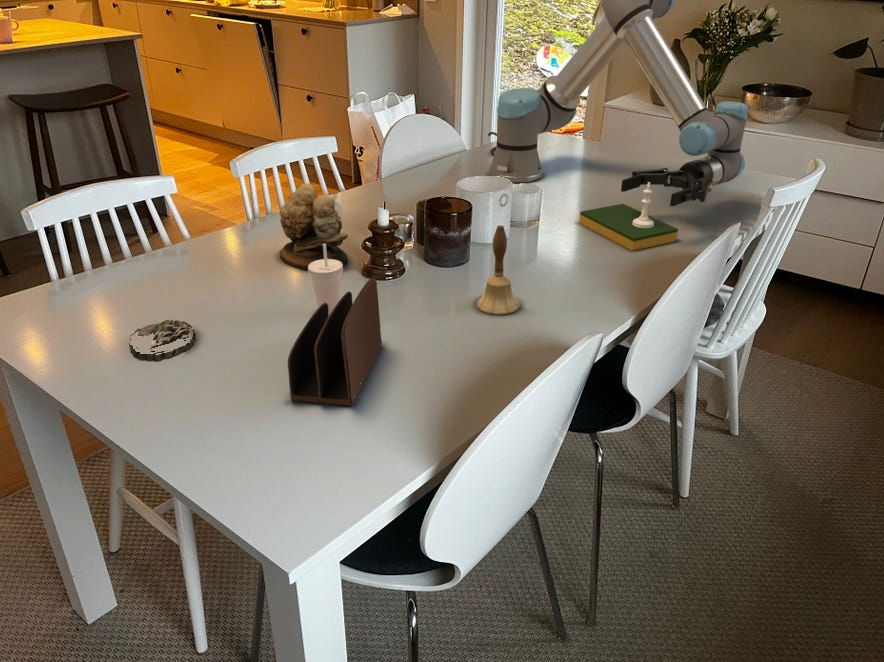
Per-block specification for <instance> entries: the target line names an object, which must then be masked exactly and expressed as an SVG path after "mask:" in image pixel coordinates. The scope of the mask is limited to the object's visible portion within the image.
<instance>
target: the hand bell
mask: <svg viewBox="0 0 884 662" xmlns="http://www.w3.org/2000/svg"><path fill="white" fill-rule="evenodd" d="M507 237H508V236H507V234H506V230H505V226H504V225H501V224H500V225H497V226H496V229H495V232H494V235H493V239H492V251H493V255H494V274H493V275H492V276H489V277H488V278H487V280H486V285H485V290H484V293H483V295H481V297H480V298H478V300H477V302H476V308H478V310H479V311H481V312H483V313H485V314H490V315H497V316H502V315H509V314H512V313H514V312H516V311H518V310H519V309H520V307H521V306H520V305H521V304H520V302H519V300H518V298H516V297H515V296H514V293H513V290H512V285H511V284H512V283H511V279H510V278H509V277H507V276H506V275H504V272H505V271H504V258H505V255H506V252H507V247H508V238H507Z"/></svg>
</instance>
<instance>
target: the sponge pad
mask: <svg viewBox="0 0 884 662" xmlns="http://www.w3.org/2000/svg"><path fill="white" fill-rule="evenodd" d="M641 213H642V211H640V210H638V209H635V208H633V207H631V206H629V205H627V204H625V203H619V204H613V205H608V206H603V207H597V208H593V209H587V210H582V211H580V213H579V224H580V225H582V226H584V227H585V228H588V229H589V230H592V231H593V232H596V233H598V235H601V236H603V237H605V238H607V239H608V240H610V241H613V242H615V243H616V244H618V245H620V246H622V247H624V248H626V249H628V250H630V251H637V250H642V249H646V248H650V247H655V246H660V245H664V244H669V243H673V242H677V238H678V233H679V228H678V227H675V226H673V225H670V224H668V223H666V222H664V221H661V220H659V219H658V218H655V217H654V216H651V215H649V214H648V217H649V219H651V220H652V221H653V222H654V226H653V227H651V228H639V227H636V226H634V225H633V224H632V223H633V220H634V219H636V218H639V217H640V216H641Z"/></svg>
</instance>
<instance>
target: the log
mask: <svg viewBox="0 0 884 662" xmlns="http://www.w3.org/2000/svg"><path fill="white" fill-rule="evenodd" d="M189 327H191V329H190V328H189ZM193 329H194V330H193ZM138 331H139V333H138V336H143V337H144V335H145V336H147V335H148V336H149V334H152V333H153V334H154V335H155V336H154V338H153V340H156V341H155V342H150V350H151V349H152V348H155V347H158V346H161V345H165V344H169V343H172V342H174V341H176V340H177V339H178V338H179V339H186V338H188V337H189V336H190V335H191V334H192V331H193V332H194V333H193V337H192V339H191V340H190V343H187V344H186V345H185V346H182V347H179V348H177V349H174V350H173V351H170V352H167V353H163V352H165V351H161V352H157V353H162V354H159V355H155V354H157V353H154V354H140V352H136V351H135V349H133V346H132V345H130V343H129V345H128V346H129V351H130V354H132V357H133V358H135V359H137V360H139V361H147V362H152V361H153V362H156V363H157V362H161V361H164V360H169V359H172V358H173V357H176V356H179V355H180V354H182V353H185V352H187V351H189V350H190V349H192V347H194V345H195V340H196V336H197V335H196V332H195V327H193V326H192V325H191V324H189V323H188V322H187V321H184V320H182V321H181V320H180V319H179V320H178V319H164V320H162V321H160V322H157V323H152V324H148V325H145V326H143V327H142V328H137V329H136V330H135V331H134V332H135V333H136V332H138ZM155 333H156V334H155ZM132 335H134V333H132V334H131V335H130V336H132ZM184 341H186V340H184ZM136 348H137V347H136ZM138 349H139V348H138ZM166 351H167V350H166ZM151 352H155V351H151Z"/></svg>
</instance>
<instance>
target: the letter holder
mask: <svg viewBox="0 0 884 662" xmlns="http://www.w3.org/2000/svg"><path fill="white" fill-rule="evenodd" d="M328 311H329V309H328V304H327V303H323V304H322V305H321V306H320V307H319V308H318V307H317V309H316V310H315V311H314V312H313V314H312V315H311V316H310V318H309V320H308V321H307V322H306V324H305V325H304V326H303V328H302V330H301V331H300V333H299V334H298V336H297V338H296V340H295V342H294V343H293V345H292V347H291V349H290V351H289V354H288V357H287V372H288V383H289V395H290V401H292V402H303V403H304V402H305V403H315V404H325V405H336V406H349V407H352V406H353V405H354V402H355V401H356V398H357V396H358V394H359V391H360V390H361V388H362V385H363V383H364V381H365V379H366V376H368V373H369V371H370V369H371V366H372V364H373V362H374V361H375V359H376V356H377V355H378V352H379V350H380V347H381V346H382V343H383V341H382V332H381V331H382V330H381V318H380V317H381V316H380V305H379V293H378V283H377V279H376V278H375V277H370V278H369V279H368V281H367V282H365V284H364V285H363V287H362V288H361V289H360V291H359V292H358V294H357V295H356V297H355V299H354V301H353V293H352V292H351V291H346V292H345V293H344V294H343V296H342V297H340V301H339V302H338V303H337V304H336V306H335V308H334V309H333V310H332V312H331V313H330V315H329V316H328ZM360 383H361V384H360ZM354 396H355V397H354Z"/></svg>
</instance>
